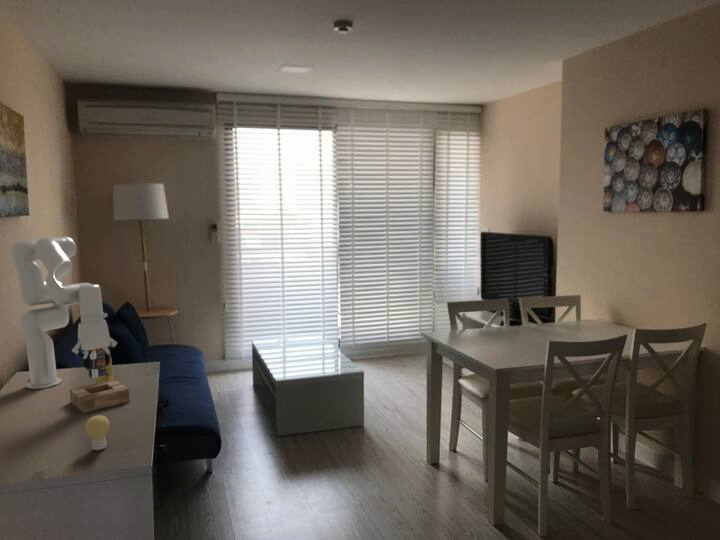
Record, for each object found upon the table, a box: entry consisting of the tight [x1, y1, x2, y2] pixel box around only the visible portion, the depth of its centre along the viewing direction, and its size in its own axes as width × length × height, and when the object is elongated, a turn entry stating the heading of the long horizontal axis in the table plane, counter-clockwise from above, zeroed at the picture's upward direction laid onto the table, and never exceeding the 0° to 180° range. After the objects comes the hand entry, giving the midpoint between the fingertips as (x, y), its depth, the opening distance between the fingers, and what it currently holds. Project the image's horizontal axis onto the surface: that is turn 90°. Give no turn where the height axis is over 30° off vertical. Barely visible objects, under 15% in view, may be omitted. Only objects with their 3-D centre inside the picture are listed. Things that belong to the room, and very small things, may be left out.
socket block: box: [69, 378, 131, 414], centre depth 210 cm, size 16×16×5 cm
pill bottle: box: [87, 348, 107, 379], centre depth 209 cm, size 6×6×11 cm
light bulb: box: [85, 414, 110, 451], centre depth 168 cm, size 6×6×10 cm
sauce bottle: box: [94, 349, 114, 384], centre depth 224 cm, size 6×6×20 cm
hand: (97, 366), depth 209 cm, fingers closed on pill bottle, 6 cm apart
